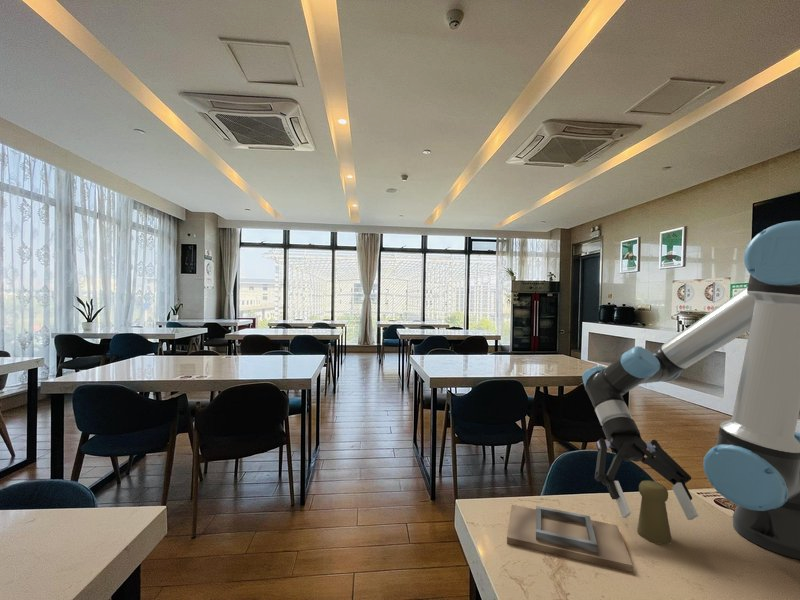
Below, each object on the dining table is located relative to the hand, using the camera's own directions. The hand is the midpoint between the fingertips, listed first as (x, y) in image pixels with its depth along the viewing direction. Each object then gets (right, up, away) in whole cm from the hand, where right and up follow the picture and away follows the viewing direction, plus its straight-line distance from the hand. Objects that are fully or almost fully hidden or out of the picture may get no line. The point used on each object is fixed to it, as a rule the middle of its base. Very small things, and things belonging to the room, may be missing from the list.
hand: (660, 517), depth 75 cm
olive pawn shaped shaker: (0, -5, +2) cm, 6 cm away
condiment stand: (-20, -5, +1) cm, 20 cm away
